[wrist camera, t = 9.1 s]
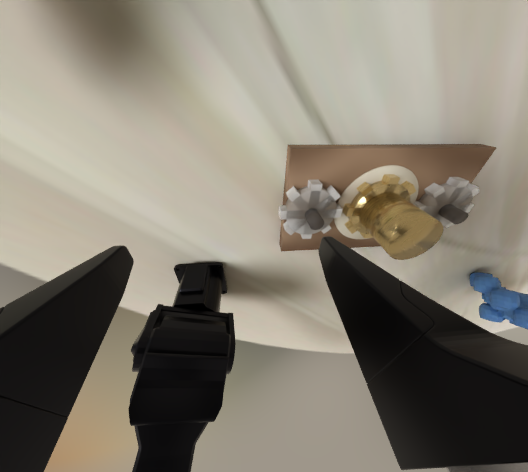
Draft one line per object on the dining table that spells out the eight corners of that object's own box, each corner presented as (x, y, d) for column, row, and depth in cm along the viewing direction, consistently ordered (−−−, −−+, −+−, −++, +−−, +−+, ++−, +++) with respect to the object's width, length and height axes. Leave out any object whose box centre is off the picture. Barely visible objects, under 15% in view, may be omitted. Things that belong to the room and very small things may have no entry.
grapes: (433, 278, 33) (510, 353, 24) (474, 253, 30) (582, 328, 20) (461, 295, 38) (535, 364, 28) (499, 275, 34) (597, 345, 25)
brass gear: (391, 231, 23) (430, 267, 18) (335, 234, 22) (360, 272, 18) (422, 173, 19) (484, 201, 14) (353, 174, 18) (393, 204, 13)
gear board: (423, 236, 26) (452, 259, 23) (274, 243, 25) (279, 269, 21) (486, 144, 19) (542, 155, 16) (280, 145, 17) (290, 158, 14)
